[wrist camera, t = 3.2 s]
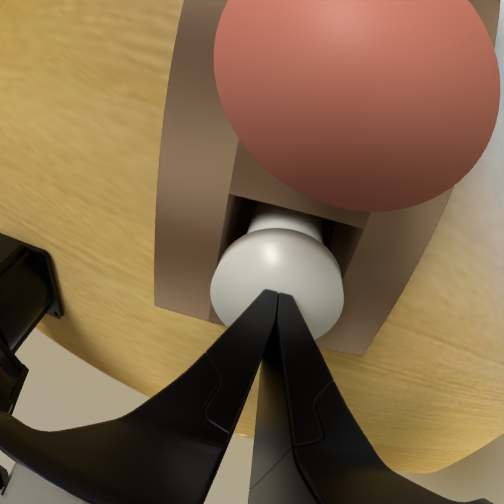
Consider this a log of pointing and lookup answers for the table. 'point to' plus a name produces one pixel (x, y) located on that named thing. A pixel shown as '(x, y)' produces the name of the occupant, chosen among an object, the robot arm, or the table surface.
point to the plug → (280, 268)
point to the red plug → (359, 95)
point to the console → (264, 199)
